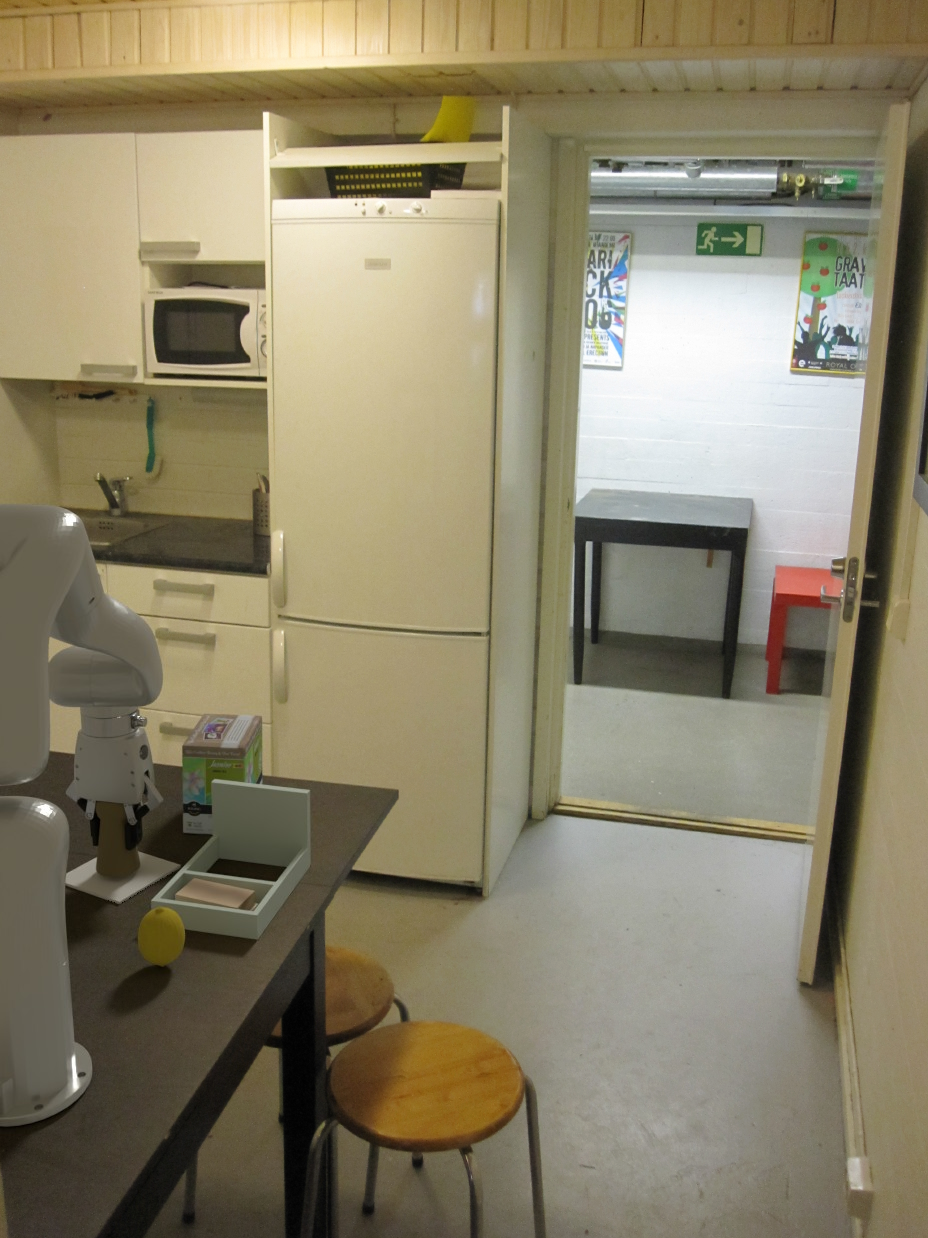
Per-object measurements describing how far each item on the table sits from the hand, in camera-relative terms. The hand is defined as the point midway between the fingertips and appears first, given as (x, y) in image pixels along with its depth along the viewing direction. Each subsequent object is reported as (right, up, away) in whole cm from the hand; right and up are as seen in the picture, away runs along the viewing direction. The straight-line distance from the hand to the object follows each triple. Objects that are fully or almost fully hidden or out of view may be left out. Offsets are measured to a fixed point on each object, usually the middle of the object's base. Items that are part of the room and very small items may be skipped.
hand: (117, 843), depth 151 cm
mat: (0, -5, +2) cm, 5 cm away
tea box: (+10, 0, +21) cm, 24 cm away
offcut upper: (+16, -7, -9) cm, 19 cm away
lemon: (+12, -11, -20) cm, 26 cm away
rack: (+17, -6, -3) cm, 19 cm away
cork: (0, -4, +1) cm, 4 cm away
